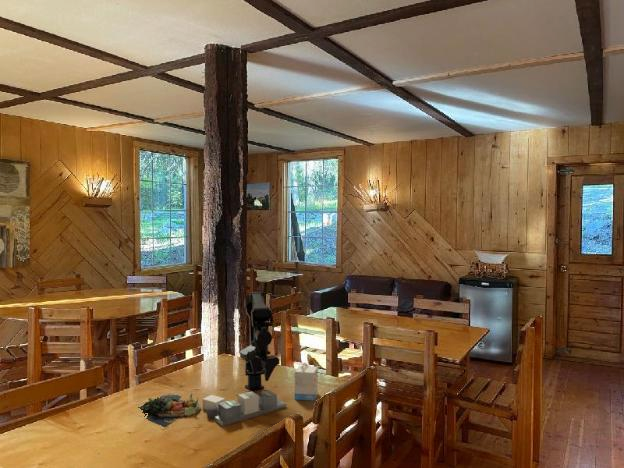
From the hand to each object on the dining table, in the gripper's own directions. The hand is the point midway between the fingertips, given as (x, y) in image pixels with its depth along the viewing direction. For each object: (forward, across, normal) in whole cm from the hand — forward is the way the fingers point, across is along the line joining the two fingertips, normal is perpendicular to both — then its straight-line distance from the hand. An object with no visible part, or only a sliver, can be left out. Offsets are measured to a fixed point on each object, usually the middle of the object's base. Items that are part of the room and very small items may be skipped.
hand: (260, 377), depth 180 cm
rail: (+11, +5, -6) cm, 14 cm away
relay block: (+12, -9, -16) cm, 22 cm away
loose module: (+10, +4, -8) cm, 13 cm away
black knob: (+11, -2, -20) cm, 23 cm away
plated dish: (+13, -17, -30) cm, 37 cm away
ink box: (+12, +3, +20) cm, 24 cm away
